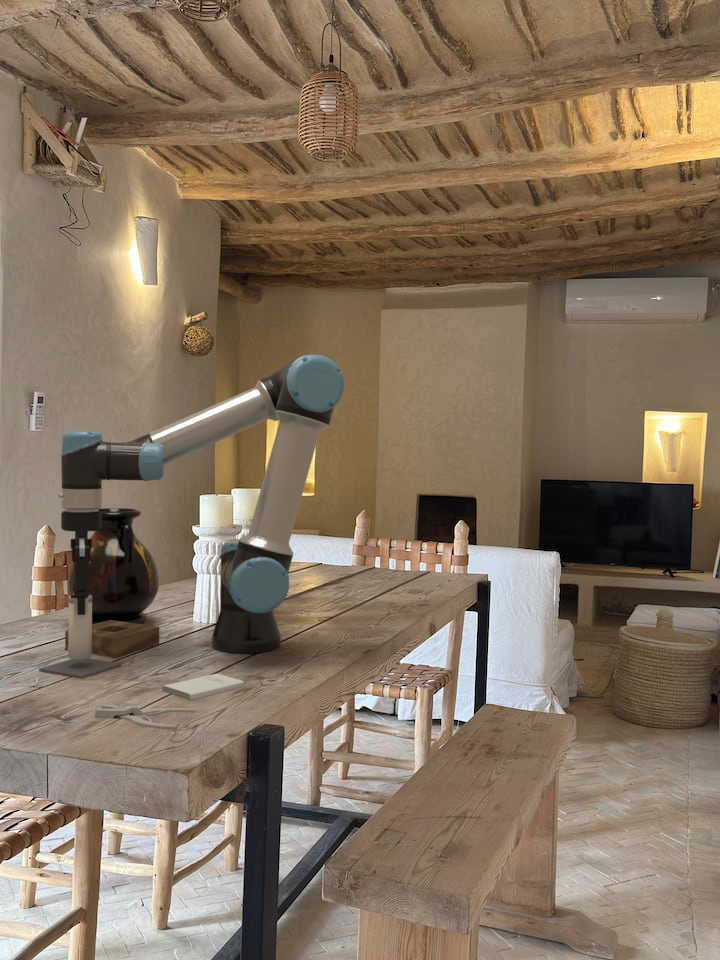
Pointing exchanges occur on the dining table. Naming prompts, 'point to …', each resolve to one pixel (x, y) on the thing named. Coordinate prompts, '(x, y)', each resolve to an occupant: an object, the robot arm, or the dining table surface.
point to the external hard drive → (203, 686)
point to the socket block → (120, 638)
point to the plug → (79, 634)
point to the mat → (80, 667)
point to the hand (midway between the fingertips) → (80, 627)
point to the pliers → (124, 713)
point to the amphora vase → (119, 570)
